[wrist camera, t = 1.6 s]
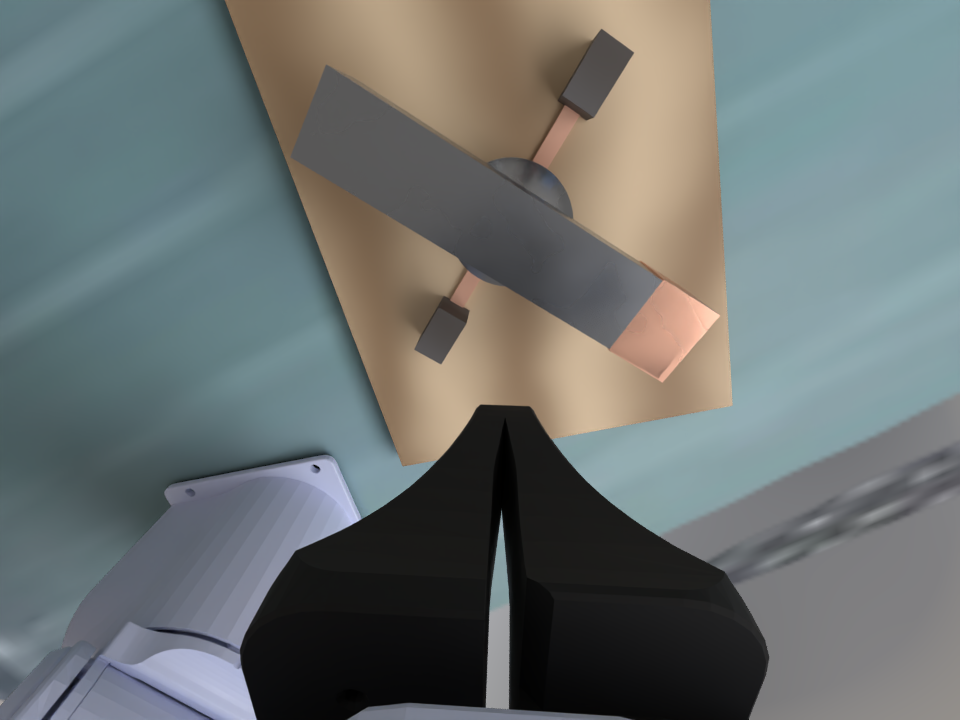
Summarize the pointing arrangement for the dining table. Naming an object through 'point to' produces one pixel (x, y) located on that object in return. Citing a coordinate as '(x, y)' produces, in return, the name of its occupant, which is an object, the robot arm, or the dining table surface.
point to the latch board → (524, 134)
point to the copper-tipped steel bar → (498, 223)
